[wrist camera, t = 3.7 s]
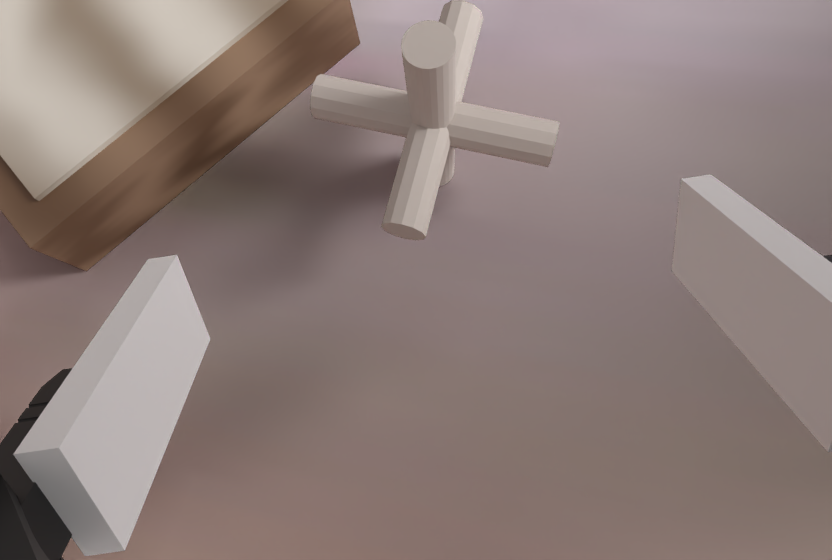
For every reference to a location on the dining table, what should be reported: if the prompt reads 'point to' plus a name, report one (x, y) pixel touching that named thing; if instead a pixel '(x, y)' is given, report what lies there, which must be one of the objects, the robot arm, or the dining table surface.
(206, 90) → the stand
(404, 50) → the pipe connector
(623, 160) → the dining table surface
